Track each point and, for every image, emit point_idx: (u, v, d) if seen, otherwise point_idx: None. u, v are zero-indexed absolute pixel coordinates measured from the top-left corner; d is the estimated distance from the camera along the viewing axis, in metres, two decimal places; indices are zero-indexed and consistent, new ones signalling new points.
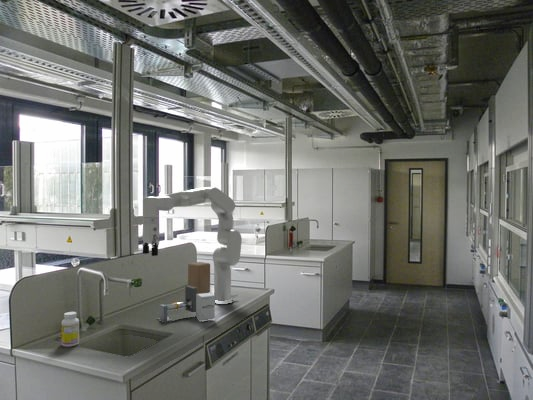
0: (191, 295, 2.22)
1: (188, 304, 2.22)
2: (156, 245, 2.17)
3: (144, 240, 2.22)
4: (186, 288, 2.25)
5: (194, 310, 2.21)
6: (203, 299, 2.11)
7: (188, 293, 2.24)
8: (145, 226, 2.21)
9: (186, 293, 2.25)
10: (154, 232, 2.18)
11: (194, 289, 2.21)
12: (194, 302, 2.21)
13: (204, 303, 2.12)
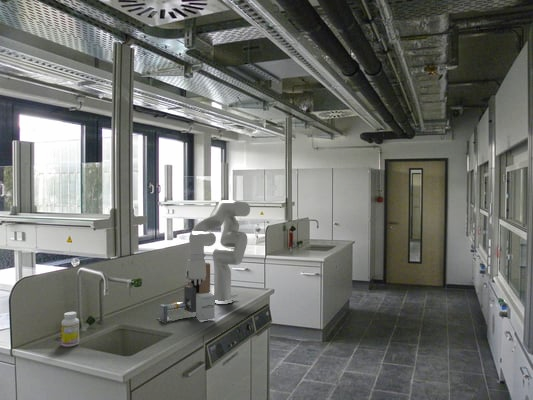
0: (190, 296, 2.22)
1: (188, 304, 2.22)
2: None
3: (195, 277, 2.23)
4: (185, 288, 2.25)
5: (193, 310, 2.21)
6: (203, 299, 2.11)
7: (187, 293, 2.23)
8: (197, 262, 2.24)
9: (185, 293, 2.25)
10: None
11: (193, 289, 2.21)
12: (193, 302, 2.21)
13: (204, 303, 2.12)
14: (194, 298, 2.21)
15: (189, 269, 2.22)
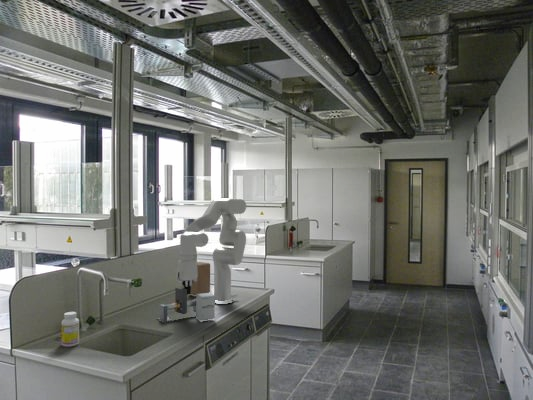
0: (181, 297, 2.18)
1: (188, 304, 2.22)
2: None
3: (186, 278, 2.20)
4: (176, 290, 2.22)
5: (184, 312, 2.18)
6: (203, 299, 2.11)
7: (178, 295, 2.20)
8: (189, 263, 2.20)
9: (176, 295, 2.22)
10: None
11: (184, 291, 2.18)
12: (184, 304, 2.18)
13: (204, 303, 2.12)
14: (185, 300, 2.18)
15: (180, 270, 2.19)
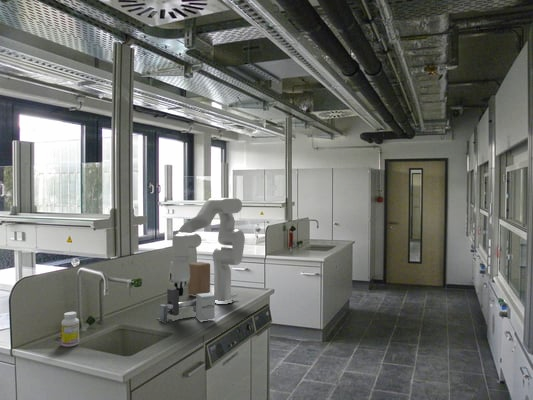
0: (172, 298, 2.15)
1: (188, 304, 2.22)
2: None
3: (178, 280, 2.17)
4: (168, 291, 2.19)
5: (176, 313, 2.15)
6: (203, 299, 2.11)
7: (170, 296, 2.17)
8: (181, 264, 2.17)
9: (168, 296, 2.19)
10: None
11: (176, 292, 2.15)
12: (176, 305, 2.15)
13: (204, 303, 2.12)
14: (177, 301, 2.15)
15: (172, 271, 2.16)
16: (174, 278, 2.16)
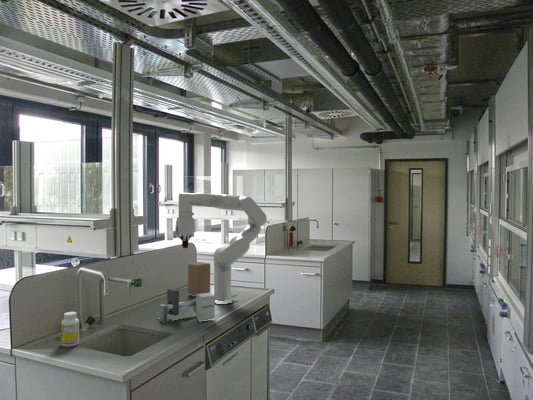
0: (172, 298, 2.15)
1: (188, 304, 2.22)
2: None
3: (183, 233, 2.41)
4: (168, 291, 2.19)
5: (176, 313, 2.15)
6: (203, 299, 2.11)
7: (170, 296, 2.17)
8: (186, 219, 2.42)
9: (168, 296, 2.19)
10: None
11: (176, 292, 2.15)
12: (176, 305, 2.15)
13: (204, 303, 2.12)
14: (177, 301, 2.15)
15: (178, 225, 2.40)
16: (180, 231, 2.40)
